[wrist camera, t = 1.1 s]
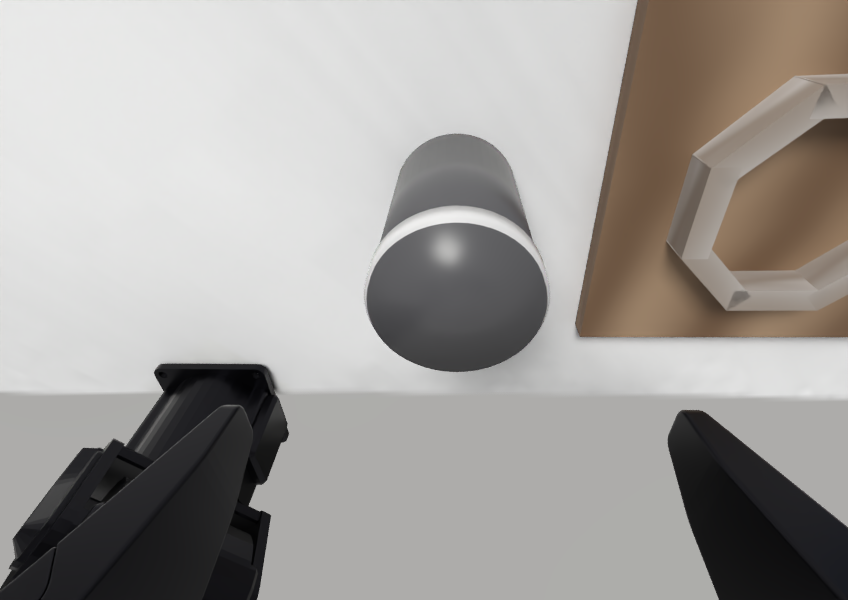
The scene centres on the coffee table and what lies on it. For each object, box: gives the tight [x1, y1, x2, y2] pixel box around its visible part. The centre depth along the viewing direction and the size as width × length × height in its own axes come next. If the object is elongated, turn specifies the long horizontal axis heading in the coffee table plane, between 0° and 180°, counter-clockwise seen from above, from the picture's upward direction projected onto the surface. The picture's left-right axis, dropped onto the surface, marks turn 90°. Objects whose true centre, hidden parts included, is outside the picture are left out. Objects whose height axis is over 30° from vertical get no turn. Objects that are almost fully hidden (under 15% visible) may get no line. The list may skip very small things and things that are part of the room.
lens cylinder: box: [364, 134, 550, 372], centre depth 16 cm, size 5×5×8 cm
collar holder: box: [575, 0, 848, 337], centre depth 17 cm, size 14×14×2 cm
